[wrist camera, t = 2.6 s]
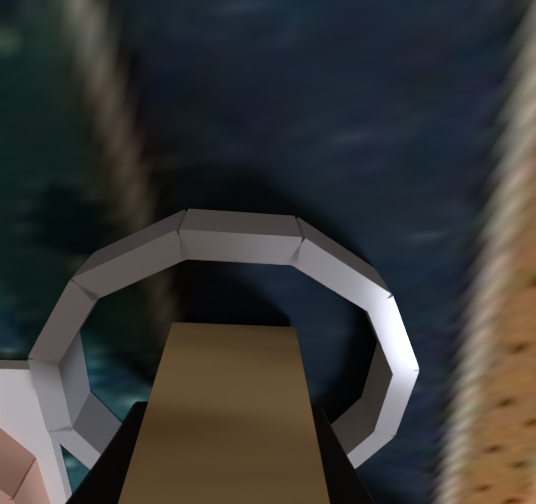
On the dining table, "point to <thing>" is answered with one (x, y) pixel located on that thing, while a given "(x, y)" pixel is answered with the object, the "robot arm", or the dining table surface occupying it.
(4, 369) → the card
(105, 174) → the dining table surface
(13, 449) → the ring
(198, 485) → the ochre block
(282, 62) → the dining table surface
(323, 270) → the ring
